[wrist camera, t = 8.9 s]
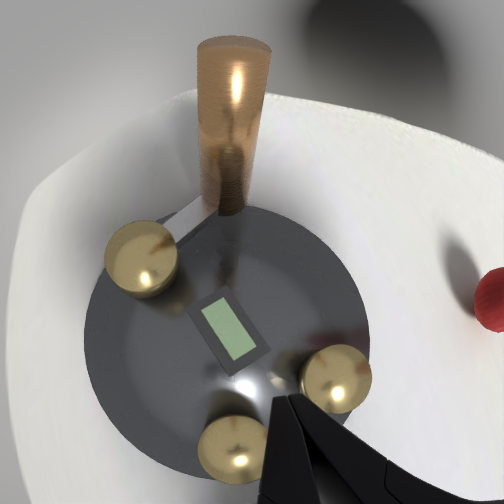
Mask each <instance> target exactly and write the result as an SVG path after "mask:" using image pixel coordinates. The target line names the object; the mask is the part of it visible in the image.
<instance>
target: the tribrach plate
mask: <svg viewBox="0 0 504 504" xmlns="http://www.w3.org/2000/svg"><path fill="white" fill-rule="evenodd" d="M177 213H178V212H176V213H173V214H170V215H168V216H166V217H164V218H161V219H159V220H157V221H155V222H156V223H159V224H161V225H163V224H164V223H165V222H166V221H168V220H169V219H170V218H172V217H173V216H174V215H175V214H177ZM177 251H178V255H179V271H178V274H177V276H176V278H175V280H174V282H173V283H172V284H171V286H170V287H169V288H168V289H166V290H165V291H164V292H162V293H161V294H159V295H156V296H154V297H150V298H136V297H133V296H130V295H128V294H126V293H125V292H124V291H122V290H121V289H120V288H119V287H118V285H117V284H116V283H115V282H114V281H113V280H112V278H111V277H110V276H109V274H108V272H107V270H106V267H105V269H104V271H103V272H102V274H101V276H100V277H99V279H98V281H97V284H96V286H95V288H94V291H93V293H92V295H91V299H90V302H89V306H88V310H87V314H86V321H85V328H84V352H85V359H86V365H87V370H88V374H89V377H90V381H91V384H92V387H93V389H94V392H95V394H96V396H97V398H98V401H99V403H100V405H101V406H102V408H103V410H104V411H105V413H106V414H107V416H108V417H109V419H110V421H111V422H112V423H113V424H114V426H115V427H116V428H117V429H118V430H119V431H120V433H121V434H122V435H123V436H124V437H125V438H126V439H127V440H128V441H129V442H131V443H132V444H133V445H134V446H135V447H136V448H137V449H139V450H140V451H141V452H143V453H144V454H146V455H147V456H149V457H150V458H152V459H153V460H155V461H157V462H158V463H161V464H163V465H165V466H167V467H169V468H171V469H173V470H176V471H179V472H182V473H185V474H188V475H192V476H195V477H200V478H206V479H213V480H219V481H221V482H224V483H227V484H234V485H240V484H247V483H251V482H253V481H256V480H258V479H259V478H261V473H262V467H263V460H264V454H265V447H266V440H267V433H268V426H269V419H270V412H271V404H272V398H273V397H276V396H282V395H286V396H288V395H289V394H294V393H303V394H304V395H305V396H306V397H308V398H309V399H310V400H311V401H312V402H314V403H315V404H316V405H317V406H319V407H320V408H321V409H322V410H324V411H325V412H326V413H327V414H329V415H330V416H331V417H332V418H334V419H335V420H336V421H337V422H339V423H340V424H341V425H343V424H344V422H345V421H346V419H347V418H348V416H349V415H350V413H351V412H352V410H353V409H355V408H356V407H358V406H359V405H360V404H361V403H362V402H363V401H364V399H365V398H366V396H367V395H368V393H369V390H370V387H371V382H372V373H371V368H370V365H369V363H368V362H369V352H370V336H369V326H368V320H367V315H366V311H365V307H364V304H363V301H362V298H361V296H360V293H359V290H358V288H357V286H356V284H355V282H354V280H353V279H352V277H351V275H350V273H349V272H348V270H347V269H346V267H345V266H344V264H343V263H342V262H341V260H340V259H339V258H338V257H337V256H336V254H335V253H334V252H333V251H332V250H331V249H330V248H329V247H328V246H327V245H326V244H325V243H324V242H323V241H321V240H320V239H319V238H318V237H317V236H316V235H314V234H313V233H311V232H310V231H309V230H307V229H306V228H304V227H303V226H301V225H299V224H297V223H296V222H294V221H292V220H290V219H288V218H286V217H283V216H281V215H278V214H276V213H273V212H270V211H267V210H263V209H260V208H256V207H250V206H245V208H244V209H243V210H242V211H241V212H239V213H238V214H235V215H232V216H226V217H223V216H218V217H216V218H215V219H214V220H213V221H211V222H210V223H209V224H208V225H207V226H205V227H204V228H203V229H202V230H201V231H199V232H198V233H197V234H196V235H195V236H193V237H192V238H191V239H190V240H189V241H187V242H186V243H185V244H184V245H183V246H182V247H180V248H179V249H178V250H177Z"/></svg>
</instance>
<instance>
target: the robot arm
mask: <svg viewBox="0 0 504 504" xmlns="http://www.w3.org/2000/svg"><path fill="white" fill-rule="evenodd" d="M256 504H504V500H493V501H473V500H468V499H464V498H461V497H458V496H456V495H453V494H451V493H449V492H446V491H444V490H442V489H440V488H437V487H435V486H433V485H431V484H429V483H427V482H425V481H423V480H421V479H419V478H417V477H415V476H413V475H412V474H410V473H408V472H407V471H405V470H404V469H402V468H400V467H399V466H397V465H396V464H395V463H393V462H392V461H390V460H387V458H386V457H384V456H383V455H382V454H380V453H379V452H377V451H376V450H375V449H373V448H372V447H370V446H369V445H368V444H366V443H365V442H364V441H362V440H361V439H360V438H358V437H357V436H356V435H354V434H353V433H352V432H350V431H349V430H348V429H346V428H345V427H344V426H343V425H341V424H340V423H339V422H337V421H336V420H335V419H334V418H332V417H331V416H330V415H329V414H327V413H326V412H325V411H324V410H322V409H321V408H320V407H319V406H317V405H316V404H315V403H314V402H312V401H311V400H310V399H309V398H308V397H306V396H305V395H304V394H303V393H294V394H289V395H288V396H286V395H282V396H276V397H273V398H272V404H271V412H270V419H269V426H268V433H267V440H266V447H265V454H264V460H263V467H262V473H261V479H260V486H259V492H258V497H257V502H256Z"/></svg>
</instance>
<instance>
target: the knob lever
mask: <svg viewBox="0 0 504 504" xmlns="http://www.w3.org/2000/svg"><path fill="white" fill-rule="evenodd" d="M271 52H272V50H271V48H270V47H269V46H268V45H267V44H265V43H264V42H262V41H259V40H256V39H253V38H249V37H243V36H220V37H214V38H210V39H207V40H205V41H203V42H201V43H200V44H199V45H198V48H197V79H198V80H197V84H198V85H197V87H198V131H199V157H200V178H201V195H200V196H199V197H197V198H196V199H195V200H193V201H192V202H191V203H189V204H188V205H187V206H186V207H184V208H183V209H182V210H180V211H179V212H178V213H177V214H175V215H174V216H173V217H172V218H170V219H169V220H168V221H166V222H165V223H164V224H163V225H161V224H159V223H156V222H153V221H136V222H132V223H130V224H127V225H125V226H124V227H122V228H121V229H119V230H118V231H117V232H116V233H115V234H114V235H113V236H112V238H111V239H110V241H109V243H108V245H107V247H106V251H105V267H106V270H107V272H108V274H109V276H110V277H111V278H112V280H113V281H114V282H115V283H116V284H117V285H118V287H119V288H120V289H121V290H122V291H124V292H125V293H126V294H128V295H130V296H133V297H136V298H150V297H154V296H156V295H159V294H161V293H162V292H164V291H165V290H166V289H168V288H169V287H170V286H171V284H172V283H173V282H174V280H175V278H176V276H177V274H178V271H179V255H178V251H177V250H178V249H179V248H180V247H182V246H183V245H184V244H185V243H186V242H187V241H189V240H190V239H191V238H192V237H193V236H195V235H196V234H197V233H198V232H199V231H201V230H202V229H203V228H204V227H205V226H207V225H208V224H209V223H210V222H211V221H213V220H214V219H215V218H216V217H218V216H223V217H226V216H232V215H235V214H238V213H239V212H241V211H242V210H243V209H244V208H245V206H246V204H247V200H248V194H249V188H250V181H251V175H252V168H253V162H254V156H255V149H256V143H257V137H258V131H259V125H260V118H261V112H262V106H263V100H264V94H265V88H266V82H267V76H268V70H269V64H270V59H271Z"/></svg>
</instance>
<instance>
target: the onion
mask: <svg viewBox="0 0 504 504" xmlns="http://www.w3.org/2000/svg"><path fill="white" fill-rule="evenodd" d="M474 313H475V315H476V318H477V320H478V321H479V322H480V323H481V324H482V325H483V326H484V327H485V328H486V329H489V330H491V331H494V332H497V333H499V332H504V267H501V268H497V269H494V270H491V271H489V272H488V273H487V274H486V275H485V276H484V277H483V278H482V279H481V281H480V282H479V285H478V287H477V290H476V293H475V300H474Z"/></svg>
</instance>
